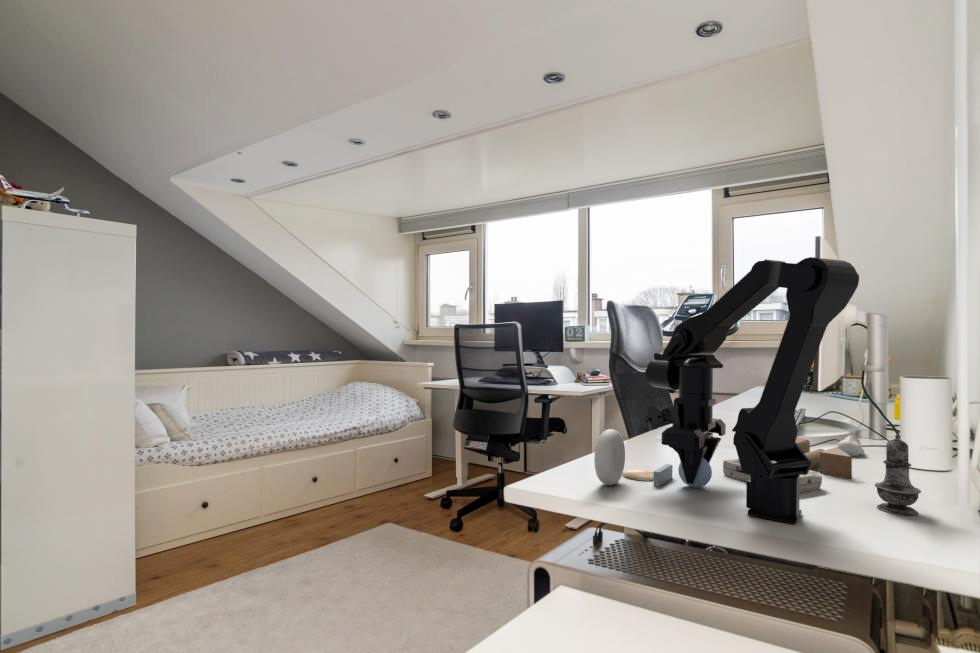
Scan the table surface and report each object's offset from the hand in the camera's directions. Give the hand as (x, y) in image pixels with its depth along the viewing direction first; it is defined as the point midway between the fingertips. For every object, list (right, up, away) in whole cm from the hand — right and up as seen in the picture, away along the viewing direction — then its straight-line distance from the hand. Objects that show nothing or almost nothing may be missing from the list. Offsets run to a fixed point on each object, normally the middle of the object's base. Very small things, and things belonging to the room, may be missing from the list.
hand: (694, 479), depth 97 cm
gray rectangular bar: (-5, -1, +4) cm, 6 cm away
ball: (0, +2, 0) cm, 2 cm away
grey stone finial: (+27, -2, -12) cm, 30 cm away
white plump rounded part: (-15, -1, +1) cm, 15 cm away
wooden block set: (+34, -3, +19) cm, 39 cm away
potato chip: (-8, -1, +7) cm, 11 cm away
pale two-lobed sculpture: (+49, -3, +31) cm, 58 cm away
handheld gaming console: (+16, -2, +5) cm, 17 cm away
